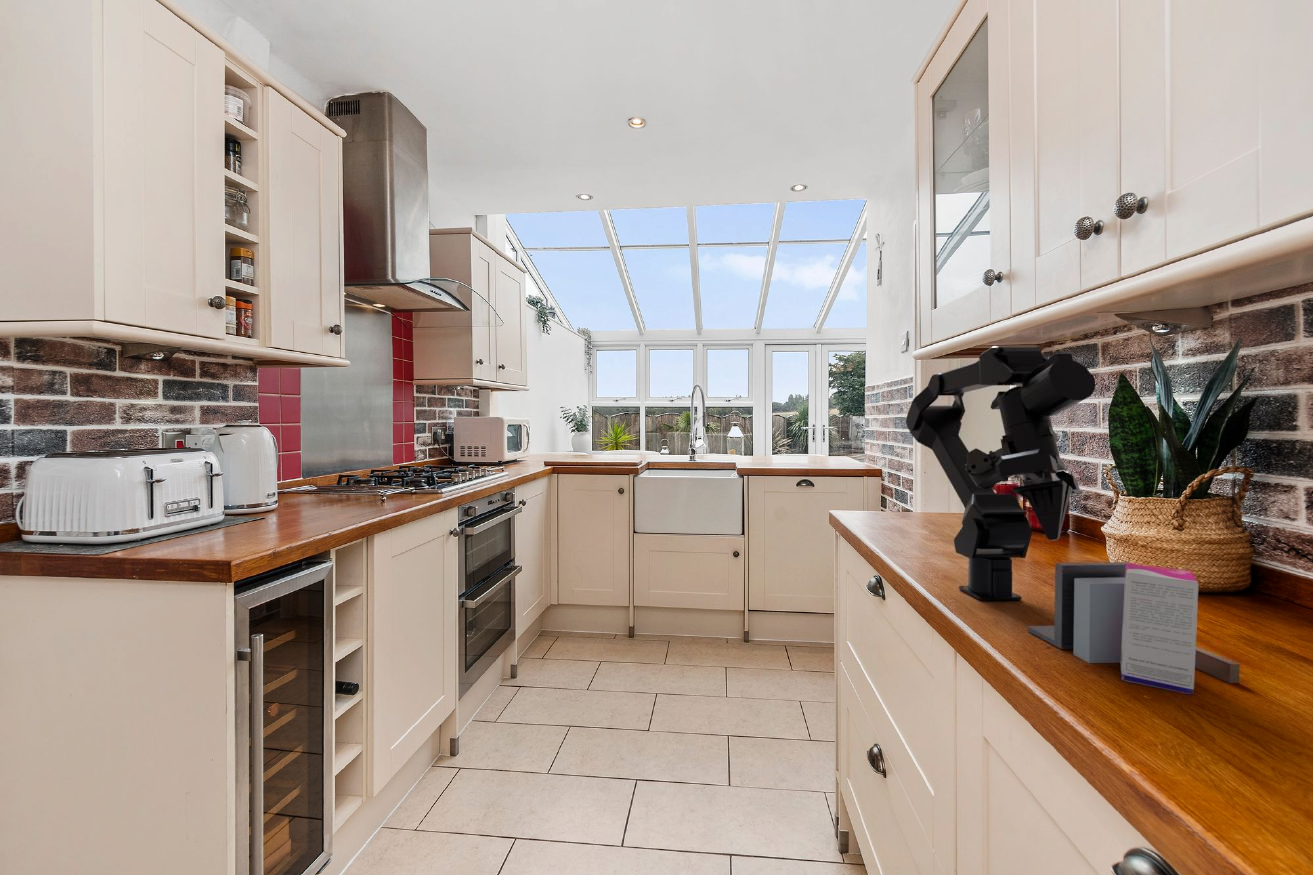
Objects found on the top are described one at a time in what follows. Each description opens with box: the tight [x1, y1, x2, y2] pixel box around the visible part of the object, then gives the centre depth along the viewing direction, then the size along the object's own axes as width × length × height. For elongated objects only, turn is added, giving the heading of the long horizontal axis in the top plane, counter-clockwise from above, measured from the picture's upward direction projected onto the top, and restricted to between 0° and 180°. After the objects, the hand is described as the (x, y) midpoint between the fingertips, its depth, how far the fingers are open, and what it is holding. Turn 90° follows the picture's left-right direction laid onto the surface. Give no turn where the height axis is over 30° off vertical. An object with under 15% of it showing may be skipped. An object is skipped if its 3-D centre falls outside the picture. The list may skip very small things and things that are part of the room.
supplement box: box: [1120, 563, 1199, 695], centre depth 63 cm, size 6×6×12 cm
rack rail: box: [1195, 645, 1241, 684], centre depth 69 cm, size 15×1×2 cm, turn 2°
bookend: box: [1026, 561, 1134, 650], centre depth 74 cm, size 6×9×10 cm
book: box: [1072, 577, 1125, 664], centre depth 68 cm, size 2×8×9 cm, turn 92°
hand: (1053, 539), depth 78 cm, fingers closed
